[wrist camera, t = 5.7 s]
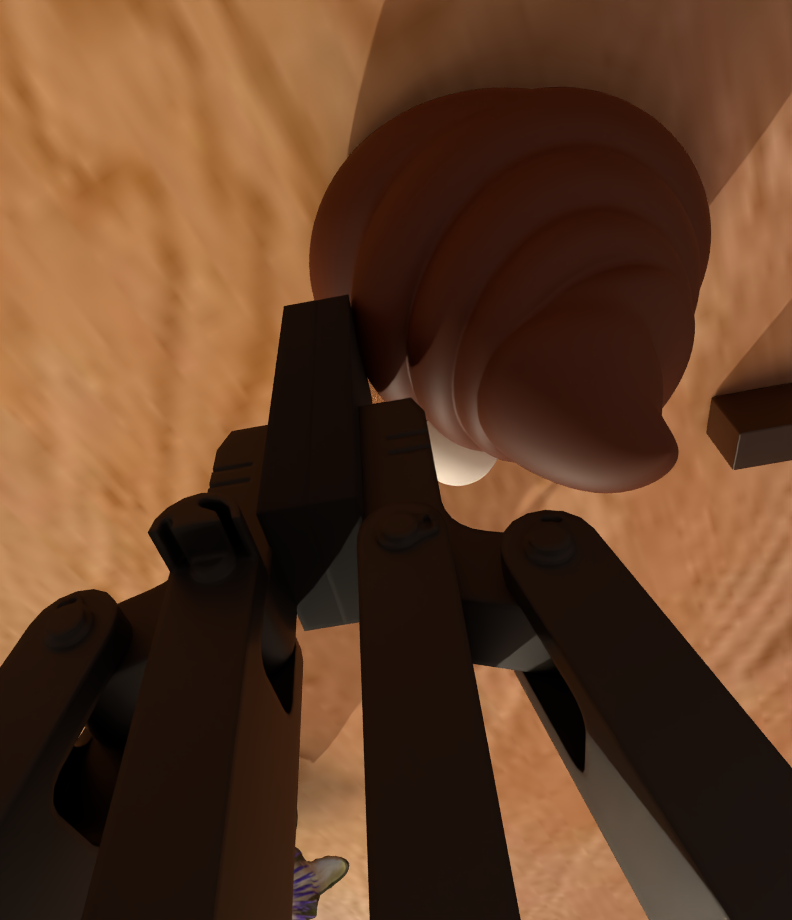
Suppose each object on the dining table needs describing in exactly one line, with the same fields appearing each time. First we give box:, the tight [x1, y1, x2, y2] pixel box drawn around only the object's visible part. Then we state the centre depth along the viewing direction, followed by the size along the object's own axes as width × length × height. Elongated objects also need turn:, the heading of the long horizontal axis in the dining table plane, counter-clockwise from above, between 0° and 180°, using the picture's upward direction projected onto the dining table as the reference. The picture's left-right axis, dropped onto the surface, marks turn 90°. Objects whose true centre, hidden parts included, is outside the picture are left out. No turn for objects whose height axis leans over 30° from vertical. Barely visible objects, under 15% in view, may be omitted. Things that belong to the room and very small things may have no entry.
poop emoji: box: [309, 87, 711, 493], centre depth 14 cm, size 10×8×9 cm
